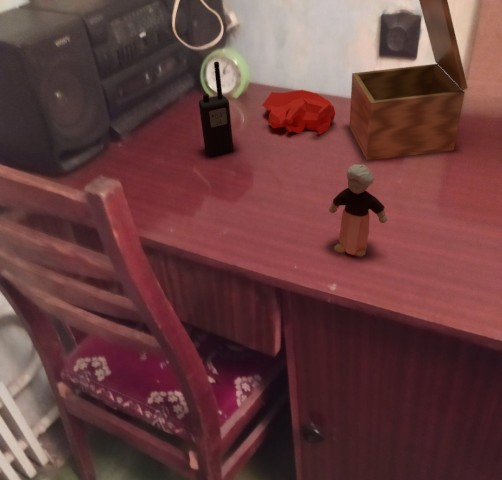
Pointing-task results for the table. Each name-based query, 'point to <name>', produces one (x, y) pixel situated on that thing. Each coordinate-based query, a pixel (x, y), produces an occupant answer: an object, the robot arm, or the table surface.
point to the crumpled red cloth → (299, 111)
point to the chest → (405, 111)
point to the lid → (443, 39)
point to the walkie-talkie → (216, 121)
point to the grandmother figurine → (356, 211)
